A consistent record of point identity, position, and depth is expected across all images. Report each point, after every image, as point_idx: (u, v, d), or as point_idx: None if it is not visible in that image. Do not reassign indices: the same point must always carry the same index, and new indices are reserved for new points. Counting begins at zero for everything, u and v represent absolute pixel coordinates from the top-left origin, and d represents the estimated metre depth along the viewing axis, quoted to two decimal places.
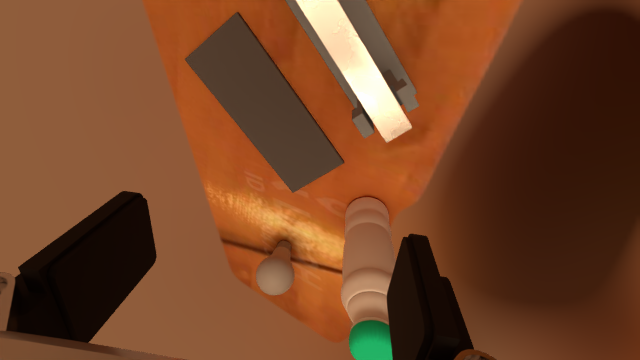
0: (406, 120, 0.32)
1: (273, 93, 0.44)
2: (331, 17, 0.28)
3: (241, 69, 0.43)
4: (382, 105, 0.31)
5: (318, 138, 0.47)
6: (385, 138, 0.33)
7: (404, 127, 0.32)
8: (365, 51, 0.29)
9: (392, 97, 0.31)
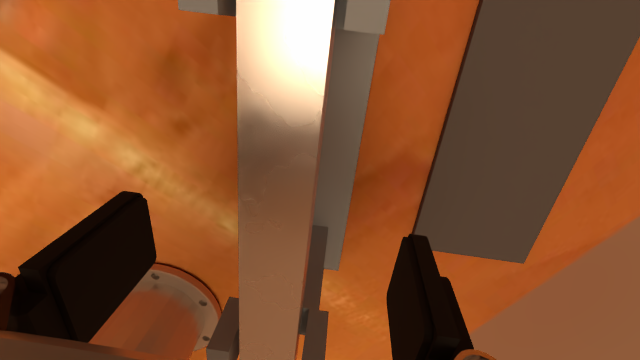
0: None
1: (477, 137, 0.23)
2: (264, 246, 0.14)
3: (478, 199, 0.25)
4: (279, 1, 0.10)
5: None
6: None
7: None
8: (240, 154, 0.12)
9: (241, 2, 0.10)
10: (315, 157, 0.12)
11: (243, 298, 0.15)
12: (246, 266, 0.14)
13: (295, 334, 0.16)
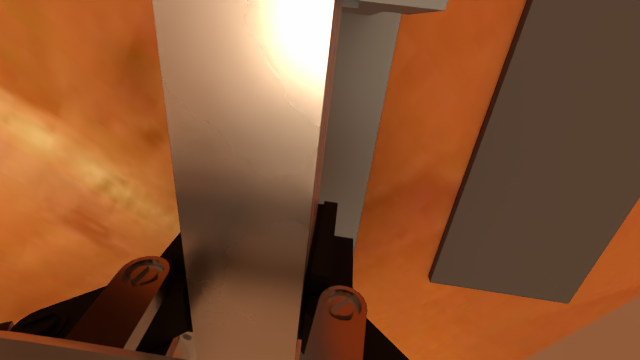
0: None
1: (522, 155, 0.18)
2: (232, 342, 0.09)
3: (517, 229, 0.21)
4: None
5: None
6: None
7: None
8: (184, 217, 0.07)
9: None
10: (307, 225, 0.07)
11: None
12: None
13: None
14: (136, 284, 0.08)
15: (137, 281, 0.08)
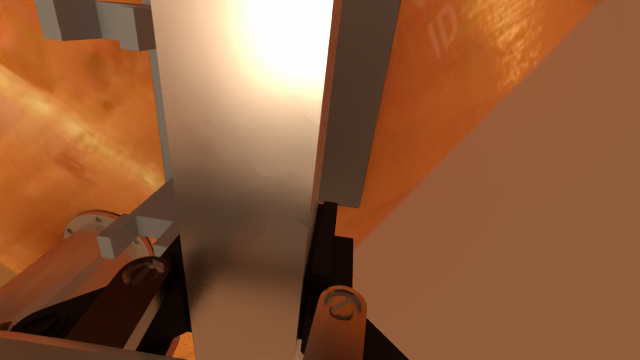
0: None
1: None
2: (232, 342, 0.09)
3: None
4: None
5: None
6: None
7: None
8: (182, 217, 0.07)
9: None
10: (306, 224, 0.07)
11: None
12: None
13: None
14: (136, 284, 0.08)
15: (137, 281, 0.08)
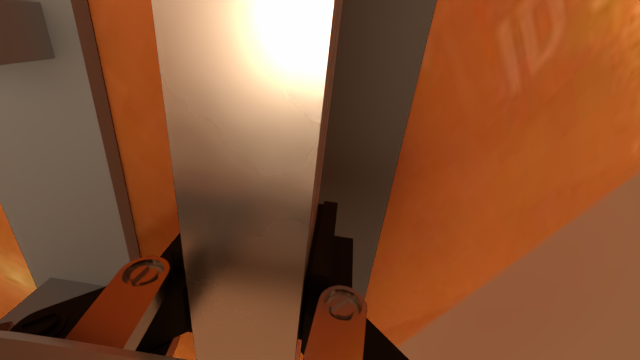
0: None
1: None
2: (232, 342, 0.09)
3: None
4: None
5: None
6: None
7: None
8: (183, 216, 0.07)
9: None
10: (307, 223, 0.07)
11: None
12: None
13: None
14: (136, 284, 0.08)
15: (137, 281, 0.08)
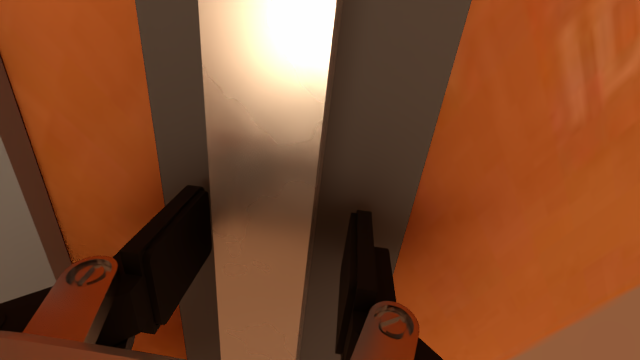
0: None
1: None
2: (249, 292, 0.11)
3: None
4: None
5: (165, 11, 0.10)
6: None
7: None
8: (213, 181, 0.09)
9: None
10: (313, 185, 0.09)
11: (225, 349, 0.12)
12: (228, 314, 0.11)
13: None
14: (83, 285, 0.08)
15: (83, 282, 0.08)
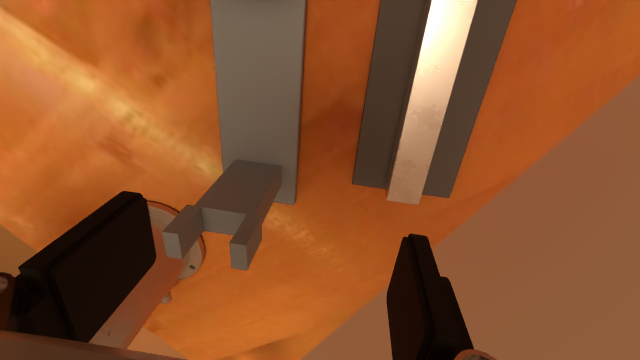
0: None
1: (396, 84, 0.28)
2: (428, 85, 0.24)
3: None
4: None
5: None
6: None
7: None
8: (428, 24, 0.23)
9: None
10: (470, 23, 0.22)
11: (406, 124, 0.26)
12: (414, 100, 0.25)
13: (433, 150, 0.27)
14: None
15: None
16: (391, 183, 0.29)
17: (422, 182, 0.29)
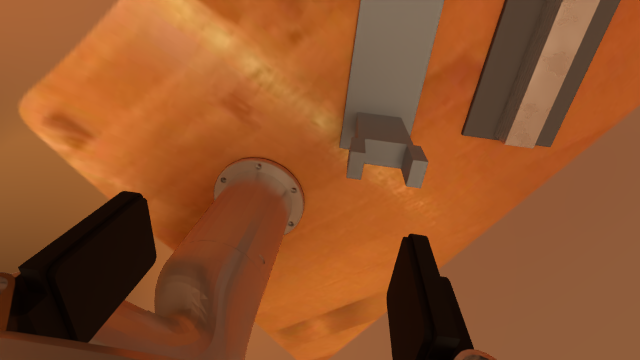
0: None
1: (521, 38, 0.32)
2: (563, 33, 0.28)
3: None
4: None
5: None
6: None
7: None
8: None
9: None
10: None
11: (537, 70, 0.30)
12: (548, 47, 0.29)
13: (556, 94, 0.31)
14: None
15: None
16: (512, 127, 0.33)
17: (540, 126, 0.32)
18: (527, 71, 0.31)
